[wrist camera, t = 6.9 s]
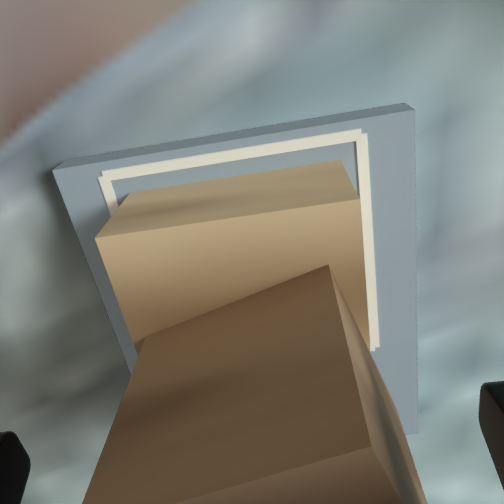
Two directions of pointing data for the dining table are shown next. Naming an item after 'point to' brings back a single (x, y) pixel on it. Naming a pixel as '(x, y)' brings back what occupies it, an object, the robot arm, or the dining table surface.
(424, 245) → the dining table surface
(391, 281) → the mat
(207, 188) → the oak base block
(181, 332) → the walnut cube
